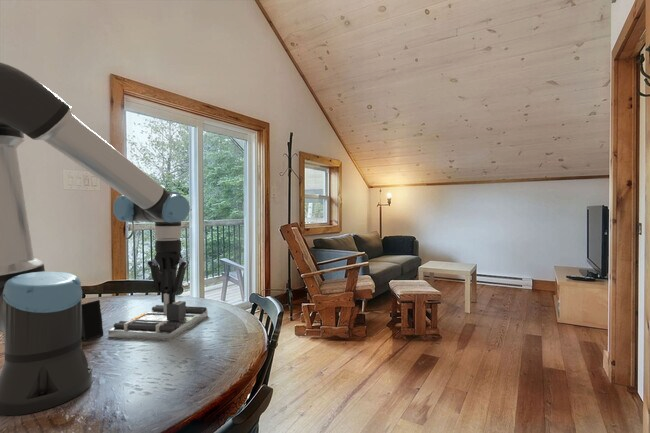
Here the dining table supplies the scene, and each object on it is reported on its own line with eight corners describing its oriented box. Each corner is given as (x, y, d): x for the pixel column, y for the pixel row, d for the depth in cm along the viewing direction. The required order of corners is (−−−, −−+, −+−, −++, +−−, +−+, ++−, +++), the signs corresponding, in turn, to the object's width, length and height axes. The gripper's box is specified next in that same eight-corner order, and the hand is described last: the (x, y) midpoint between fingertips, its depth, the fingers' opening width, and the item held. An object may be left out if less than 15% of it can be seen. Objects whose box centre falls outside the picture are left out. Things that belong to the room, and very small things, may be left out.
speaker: (108, 335, 95) (104, 299, 96) (84, 342, 91) (80, 304, 91) (99, 331, 100) (96, 297, 100) (76, 338, 96) (73, 302, 96)
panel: (169, 340, 92) (169, 332, 92) (108, 337, 94) (108, 329, 94) (207, 316, 114) (207, 309, 114) (157, 313, 116) (157, 307, 116)
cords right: (202, 314, 110) (202, 308, 110) (151, 311, 112) (151, 306, 112) (208, 310, 114) (208, 305, 114) (158, 308, 116) (158, 303, 116)
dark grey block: (178, 320, 102) (178, 303, 102) (166, 320, 103) (166, 303, 103) (185, 316, 106) (185, 300, 106) (174, 316, 107) (174, 299, 107)
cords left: (172, 332, 93) (172, 326, 93) (112, 329, 95) (112, 322, 95) (180, 327, 97) (180, 321, 97) (122, 324, 99) (122, 318, 99)
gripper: (193, 238, 108) (193, 310, 108) (156, 238, 109) (156, 308, 109) (180, 240, 100) (180, 317, 100) (141, 240, 102) (141, 315, 102)
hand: (168, 312), depth 105 cm, fingers closed
